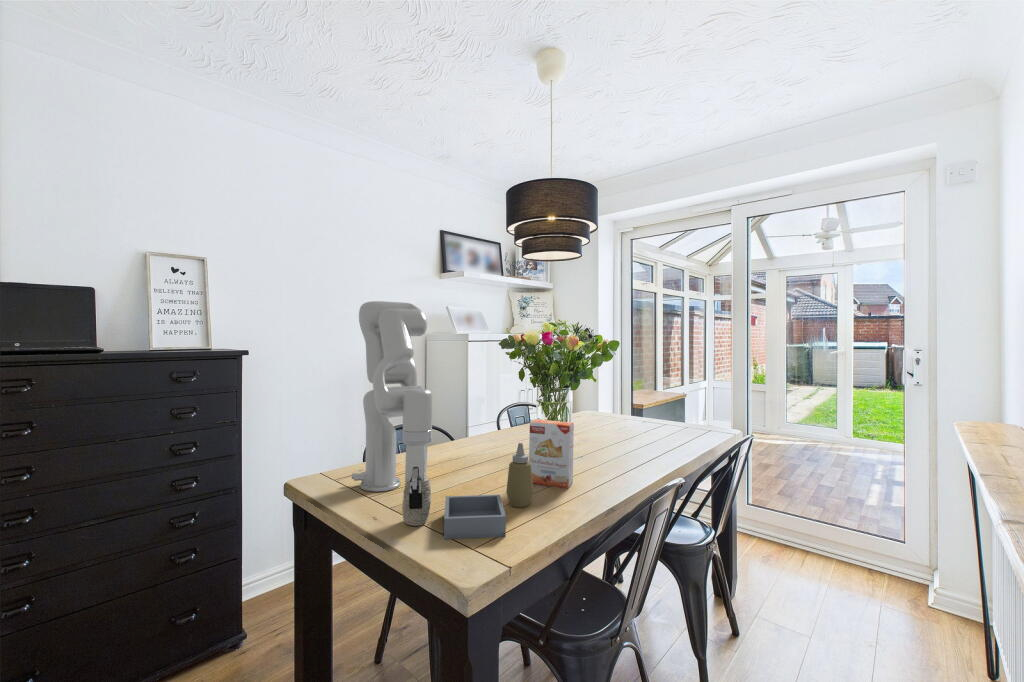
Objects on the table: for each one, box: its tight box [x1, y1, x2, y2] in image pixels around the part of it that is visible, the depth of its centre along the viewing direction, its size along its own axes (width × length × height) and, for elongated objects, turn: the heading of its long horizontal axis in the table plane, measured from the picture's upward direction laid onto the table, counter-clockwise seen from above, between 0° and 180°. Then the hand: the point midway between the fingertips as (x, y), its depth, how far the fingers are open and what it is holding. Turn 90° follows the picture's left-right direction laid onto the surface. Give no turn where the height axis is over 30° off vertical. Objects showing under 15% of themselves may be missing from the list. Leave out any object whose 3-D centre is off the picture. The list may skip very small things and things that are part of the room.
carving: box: [401, 475, 432, 527], centre depth 117 cm, size 6×8×12 cm
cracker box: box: [528, 418, 575, 489], centre depth 149 cm, size 14×6×21 cm, turn 68°
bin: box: [443, 494, 507, 540], centre depth 115 cm, size 15×15×5 cm
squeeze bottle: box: [506, 442, 534, 508], centre depth 130 cm, size 8×8×18 cm
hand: (417, 501), depth 116 cm, fingers open, 9 cm apart
